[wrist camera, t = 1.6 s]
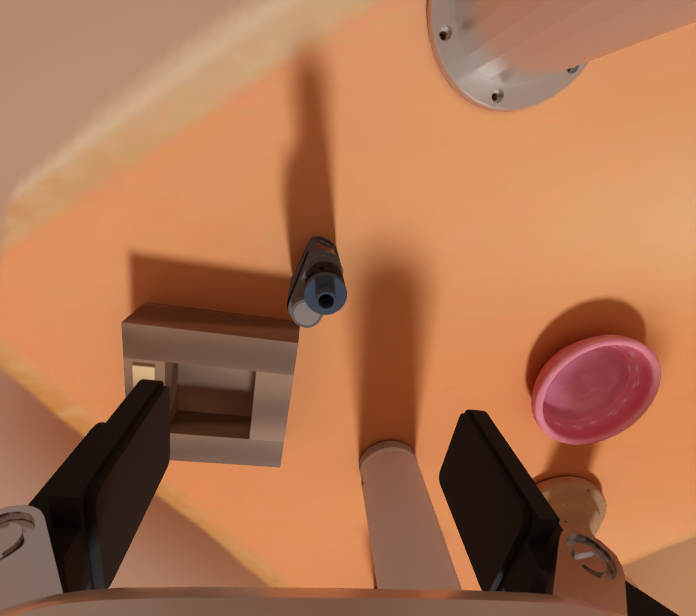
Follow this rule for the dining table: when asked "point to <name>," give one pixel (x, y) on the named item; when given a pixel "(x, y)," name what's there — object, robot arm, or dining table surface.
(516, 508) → the robot arm
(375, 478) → the travel mug
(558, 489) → the candle holder
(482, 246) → the dining table surface
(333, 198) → the dining table surface
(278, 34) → the dining table surface
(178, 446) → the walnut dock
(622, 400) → the saucer
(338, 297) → the vaping device
